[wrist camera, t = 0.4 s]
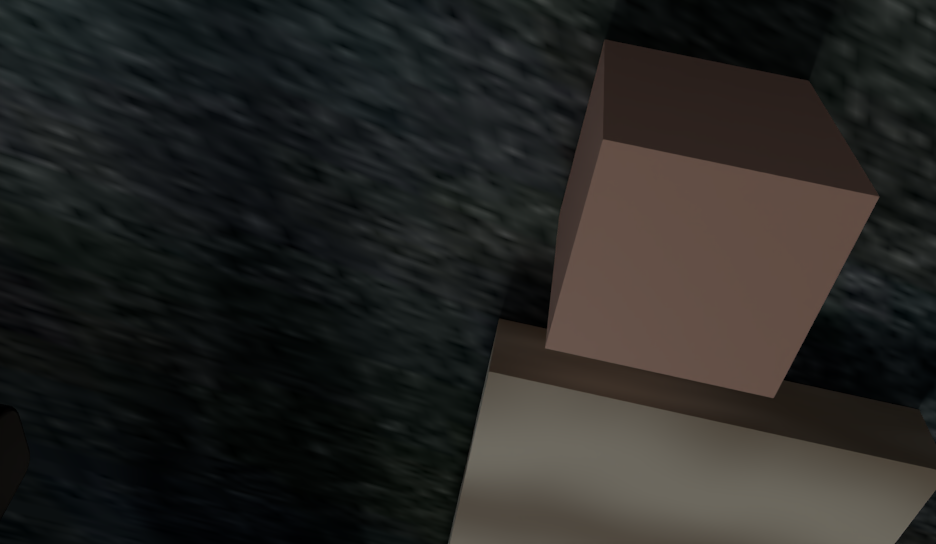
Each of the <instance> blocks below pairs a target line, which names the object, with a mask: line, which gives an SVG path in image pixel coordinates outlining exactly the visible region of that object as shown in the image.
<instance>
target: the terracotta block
mask: <svg viewBox="0 0 936 544" xmlns="http://www.w3.org/2000/svg"><path fill="white" fill-rule="evenodd" d="M878 199H879V195H878V194H877V192H876V190H875V189H874V187H873V185H872V184H871V182H870V180H869V179H868V177H867V175H866V174H865V172H864V171H863V169H862V167H861V166H860V164H859V162H858V161H857V159H856V157H855V156H854V154H853V152H852V151H851V149H850V148H849V146H848V144H847V143H846V141H845V139H844V138H843V136H842V134H841V133H840V131H839V130H838V128H837V126H836V125H835V123H834V121H833V120H832V118H831V116H830V115H829V113H828V111H827V110H826V108H825V107H824V105H823V103H822V102H821V100H820V98H819V97H818V95H817V93H816V92H815V90H814V88H813V87H812V85H811V84H810V82H809V81H808V80H803V79H798V78H793V77H788V76H783V75H778V74H773V73H768V72H763V71H758V70H753V69H748V68H743V67H739V66H734V65H729V64H724V63H719V62H714V61H709V60H704V59H699V58H694V57H689V56H684V55H679V54H674V53H669V52H665V51H660V50H655V49H650V48H645V47H640V46H635V45H630V44H625V43H620V42H615V41H610V40H604V44H603V48H602V52H601V56H600V59H599V63H598V67H597V71H596V75H595V79H594V83H593V87H592V90H591V94H590V98H589V102H588V106H587V110H586V114H585V117H584V121H583V125H582V129H581V133H580V137H579V141H578V145H577V148H576V152H575V156H574V160H573V164H572V168H571V172H570V176H569V179H568V183H567V187H566V191H565V195H564V199H563V203H562V206H561V210H560V214H559V223H558V233H557V242H556V251H555V260H554V269H553V278H552V288H551V297H550V306H549V315H548V324H547V334H546V343H545V348H546V349H551V350H555V351H560V352H565V353H569V354H574V355H578V356H583V357H587V358H592V359H597V360H601V361H606V362H610V363H615V364H619V365H624V366H629V367H633V368H638V369H642V370H647V371H651V372H656V373H661V374H665V375H670V376H674V377H679V378H683V379H688V380H693V381H697V382H702V383H706V384H711V385H715V386H720V387H725V388H729V389H734V390H738V391H743V392H747V393H752V394H756V395H761V396H766V397H770V398H774V397H775V395H776V393H777V391H778V389H779V387H780V385H781V383H782V381H783V379H784V378H785V376H786V374H787V372H788V370H789V368H790V366H791V364H792V362H793V360H794V358H795V357H796V355H797V353H798V351H799V349H800V347H801V345H802V343H803V341H804V339H805V338H806V336H807V334H808V332H809V330H810V328H811V326H812V324H813V322H814V320H815V318H816V317H817V315H818V313H819V311H820V309H821V307H822V305H823V303H824V301H825V299H826V298H827V296H828V294H829V292H830V290H831V288H832V286H833V284H834V282H835V280H836V278H837V277H838V275H839V273H840V271H841V269H842V267H843V265H844V263H845V261H846V259H847V258H848V256H849V254H850V252H851V250H852V248H853V246H854V244H855V242H856V240H857V239H858V237H859V235H860V233H861V231H862V229H863V227H864V225H865V223H866V221H867V219H868V218H869V216H870V214H871V212H872V210H873V208H874V206H875V204H876V202H877V200H878Z"/></svg>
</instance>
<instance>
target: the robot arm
mask: <svg viewBox="0 0 936 544" xmlns="http://www.w3.org/2000/svg"><path fill="white" fill-rule="evenodd" d="M29 461H30V451H29V447H28V444H27V440H26V437H25V434H24V430H23V427H22V423H21V420H20V416H19V414H18V412H17V410H16V409H15V408H14V407H12V406H9V405H4V404H0V520H1V518H2V516H3V514H4V512H5V511H6V509H7V507H8V505H9V503H10V501H11V500H12V498H13V496H14V494H15V492H16V490H17V488H18V487H19V485H20V483H21V481H22V479H23V477H24V476H25V473H26V471H27V468H28V466H29Z"/></svg>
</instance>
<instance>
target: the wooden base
mask: <svg viewBox="0 0 936 544" xmlns="http://www.w3.org/2000/svg"><path fill="white" fill-rule="evenodd" d="M546 334H547V329H545V328H541V327H536V326H532V325H527V324H522V323H518V322H513V321H509V320H504V319H499V322H498V326H497V330H496V335H495V339H494V344H493V348H492V352H491V357H490V361H489V366H488V370H487V374H486V379H485V383H484V388H483V392H482V396H481V401H480V405H479V410H478V414H477V419H476V423H475V427H474V432H473V436H472V441H471V445H470V449H469V454H468V458H467V463H466V467H465V471H464V476H463V480H462V485H461V489H460V493H459V498H458V502H457V507H456V511H455V516H454V520H453V524H452V529H451V533H450V538H449V542H448V544H895V542H896V541H897V540H898V538H899V537H900V536H901V535H902V533H903V532H904V531H905V529H906V528H907V527H908V525H909V524H910V523H911V521H912V520H913V519H914V518H915V516H916V515H917V514H918V512H919V511H920V510H921V508H922V507H923V506H924V504H925V503H926V502H927V500H928V499H929V498H930V497H931V495H932V494H933V493H934V491H935V490H936V444H935V442H934V440H933V438H932V436H931V434H930V432H929V430H928V427H927V425H926V423H925V421H924V419H923V417H922V415H921V413H920V411H919V410H918V409H914V408H909V407H905V406H900V405H895V404H891V403H886V402H882V401H877V400H872V399H868V398H863V397H858V396H854V395H849V394H845V393H840V392H835V391H831V390H826V389H822V388H817V387H812V386H808V385H803V384H799V383H794V382H789V381H785V380H783V381H782V383H781V385H780V387H779V389H778V391H777V393H776V395H775V397H774V398H770V397H766V396H761V395H756V394H752V393H747V392H743V391H738V390H734V389H729V388H725V387H720V386H715V385H711V384H706V383H702V382H697V381H693V380H688V379H683V378H679V377H674V376H670V375H665V374H661V373H656V372H651V371H647V370H642V369H638V368H633V367H629V366H624V365H619V364H615V363H610V362H606V361H601V360H597V359H592V358H587V357H583V356H578V355H574V354H569V353H565V352H560V351H555V350H551V349H546V348H545V343H546Z"/></svg>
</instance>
